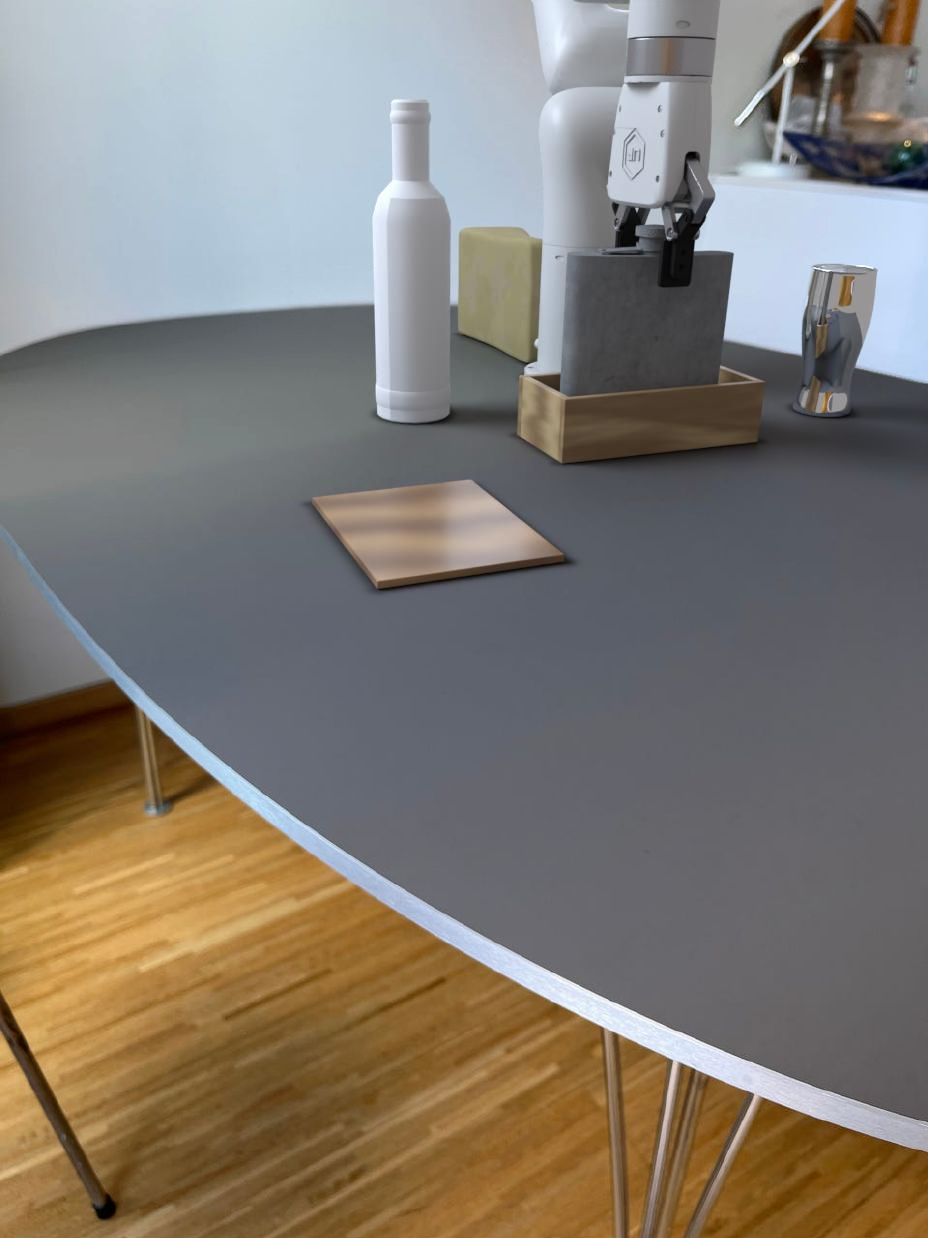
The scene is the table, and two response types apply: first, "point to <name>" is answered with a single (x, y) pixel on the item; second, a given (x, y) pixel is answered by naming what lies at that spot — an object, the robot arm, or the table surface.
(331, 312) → the table surface
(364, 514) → the wooden mat
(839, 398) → the beer glass
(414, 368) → the bottle
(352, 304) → the table surface
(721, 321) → the hip flask
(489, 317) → the cheese
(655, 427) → the box
